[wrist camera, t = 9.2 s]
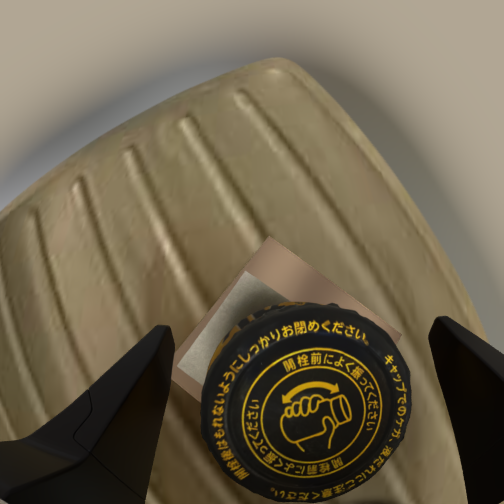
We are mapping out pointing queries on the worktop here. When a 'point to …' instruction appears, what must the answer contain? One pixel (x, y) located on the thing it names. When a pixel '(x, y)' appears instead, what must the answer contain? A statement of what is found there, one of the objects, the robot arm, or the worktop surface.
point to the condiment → (297, 394)
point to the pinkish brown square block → (289, 286)
